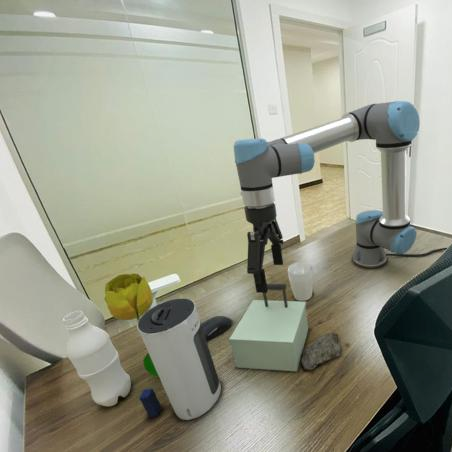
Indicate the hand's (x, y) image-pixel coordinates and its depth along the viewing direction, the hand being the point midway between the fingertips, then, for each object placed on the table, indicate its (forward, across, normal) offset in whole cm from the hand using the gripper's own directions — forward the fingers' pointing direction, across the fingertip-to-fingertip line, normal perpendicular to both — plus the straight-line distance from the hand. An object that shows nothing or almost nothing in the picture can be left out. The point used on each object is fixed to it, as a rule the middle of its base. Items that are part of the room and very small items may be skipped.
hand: (271, 277), depth 72 cm
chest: (+20, +5, 0) cm, 21 cm away
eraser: (+21, +25, -22) cm, 39 cm away
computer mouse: (+21, +4, -22) cm, 30 cm away
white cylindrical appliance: (+21, +21, -14) cm, 33 cm away
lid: (+11, +5, 0) cm, 12 cm away
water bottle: (+21, +22, -35) cm, 46 cm away
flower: (+21, +16, -27) cm, 38 cm away
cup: (+21, -19, +3) cm, 28 cm away
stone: (+21, +7, +14) cm, 26 cm away
